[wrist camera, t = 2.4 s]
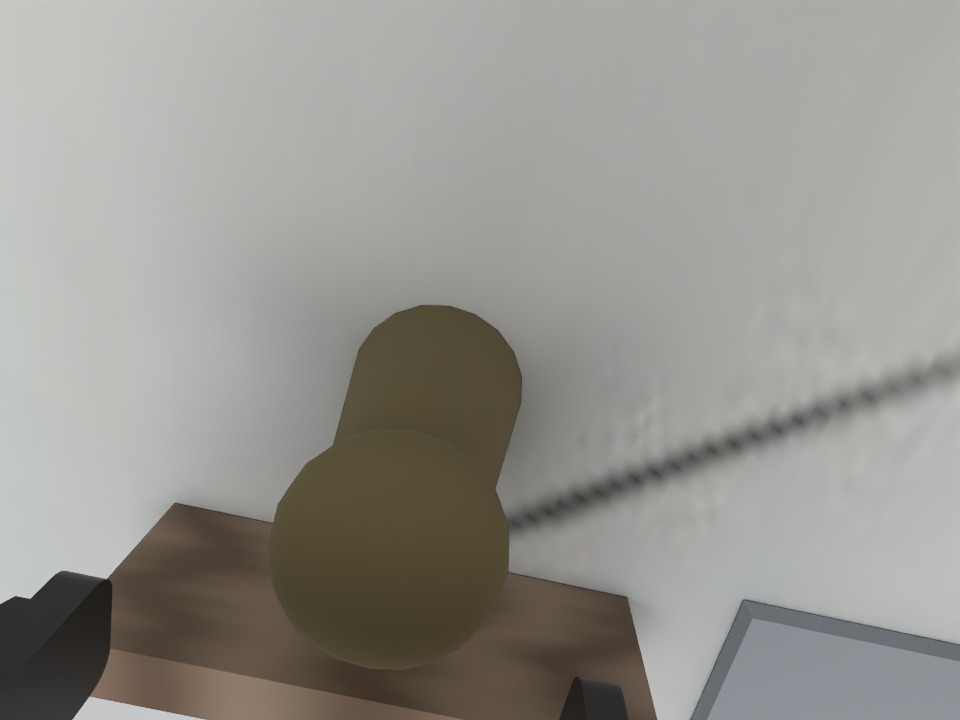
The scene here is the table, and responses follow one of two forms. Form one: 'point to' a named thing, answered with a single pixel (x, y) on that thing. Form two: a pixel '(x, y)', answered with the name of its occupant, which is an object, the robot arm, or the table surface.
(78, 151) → the table surface
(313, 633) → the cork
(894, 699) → the mat
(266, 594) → the wooden block
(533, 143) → the table surface
